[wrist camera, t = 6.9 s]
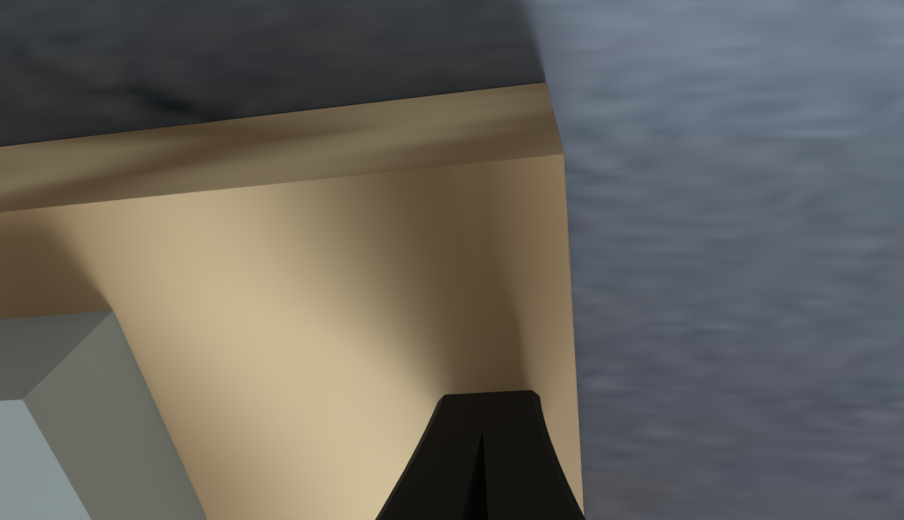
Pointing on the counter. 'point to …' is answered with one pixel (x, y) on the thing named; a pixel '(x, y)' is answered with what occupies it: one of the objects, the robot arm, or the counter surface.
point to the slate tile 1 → (83, 427)
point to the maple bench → (311, 282)
